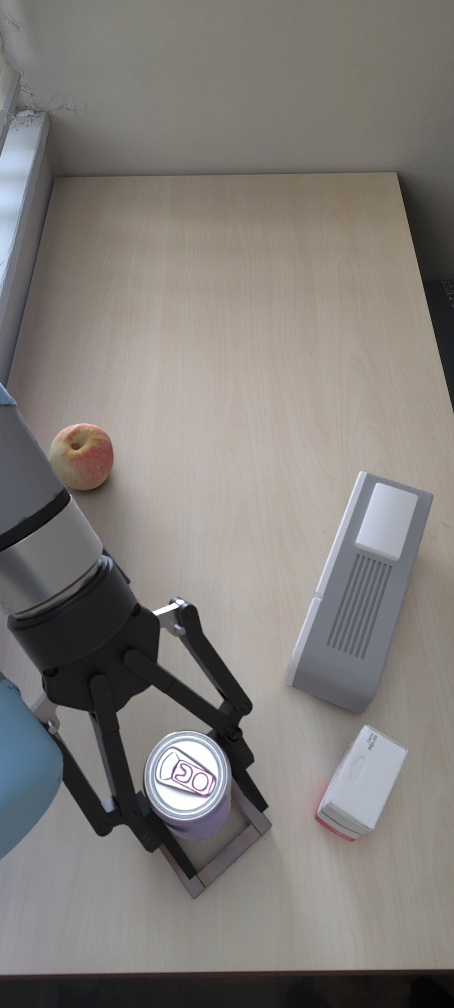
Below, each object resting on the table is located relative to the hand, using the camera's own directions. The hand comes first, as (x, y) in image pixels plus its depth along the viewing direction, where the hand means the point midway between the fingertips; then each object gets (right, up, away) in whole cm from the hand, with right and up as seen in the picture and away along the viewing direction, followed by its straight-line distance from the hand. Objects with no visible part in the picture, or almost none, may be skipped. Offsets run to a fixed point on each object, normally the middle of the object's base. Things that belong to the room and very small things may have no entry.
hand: (221, 831), depth 47 cm
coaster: (-18, +15, +36) cm, 43 cm away
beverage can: (-2, -1, +7) cm, 8 cm away
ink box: (+14, -8, +23) cm, 28 cm away
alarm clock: (+16, +11, +34) cm, 40 cm away
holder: (-2, -10, +21) cm, 23 cm away
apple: (-20, +29, +45) cm, 57 cm away
